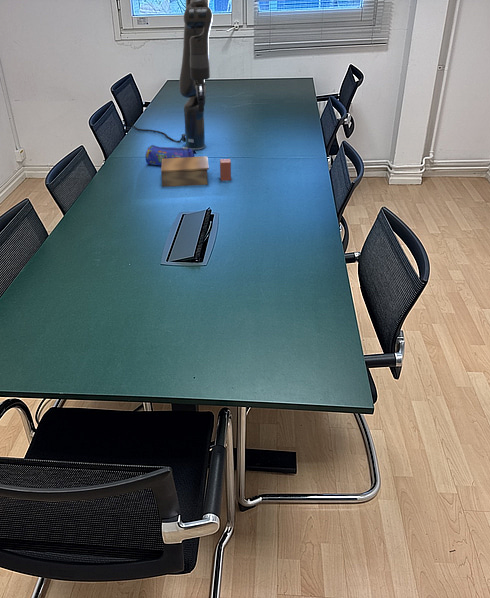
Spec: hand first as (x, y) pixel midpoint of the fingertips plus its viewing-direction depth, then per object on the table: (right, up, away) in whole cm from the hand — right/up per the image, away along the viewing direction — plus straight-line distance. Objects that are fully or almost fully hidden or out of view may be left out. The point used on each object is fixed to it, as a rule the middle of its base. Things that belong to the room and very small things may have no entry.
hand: (201, 111), depth 221 cm
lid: (-7, -20, +6) cm, 22 cm away
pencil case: (-14, -17, +24) cm, 32 cm away
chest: (-7, -26, +10) cm, 29 cm away
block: (+10, -26, +9) cm, 29 cm away
